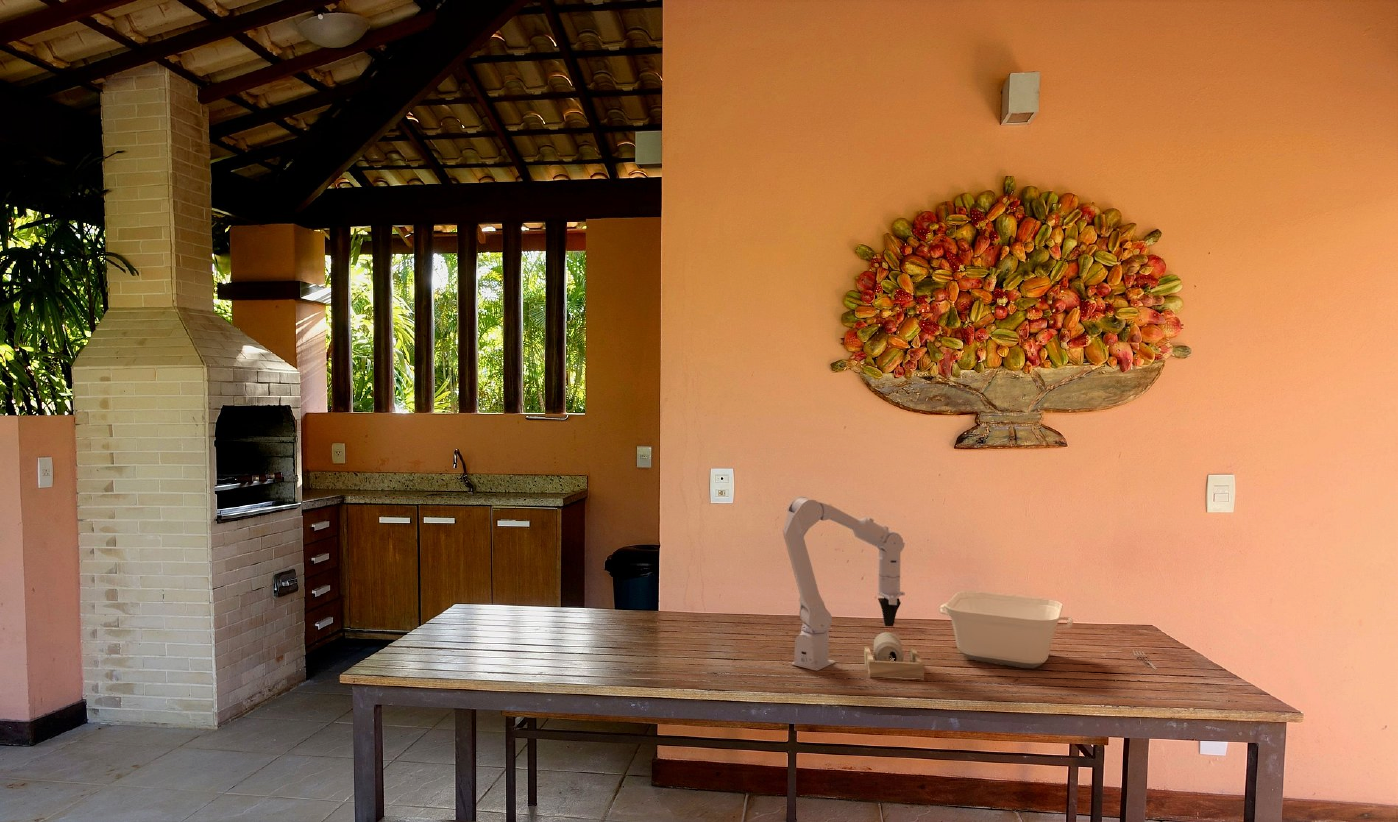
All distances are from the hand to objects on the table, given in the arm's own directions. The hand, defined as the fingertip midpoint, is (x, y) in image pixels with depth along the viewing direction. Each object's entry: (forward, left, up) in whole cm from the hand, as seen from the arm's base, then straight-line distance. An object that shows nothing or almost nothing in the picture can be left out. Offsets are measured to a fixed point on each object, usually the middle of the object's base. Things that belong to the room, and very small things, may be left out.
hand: (888, 625), depth 211 cm
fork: (+42, -55, -10) cm, 70 cm away
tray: (-7, -5, -9) cm, 12 cm away
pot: (+24, -23, -10) cm, 34 cm away
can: (+1, +1, -6) cm, 6 cm away
